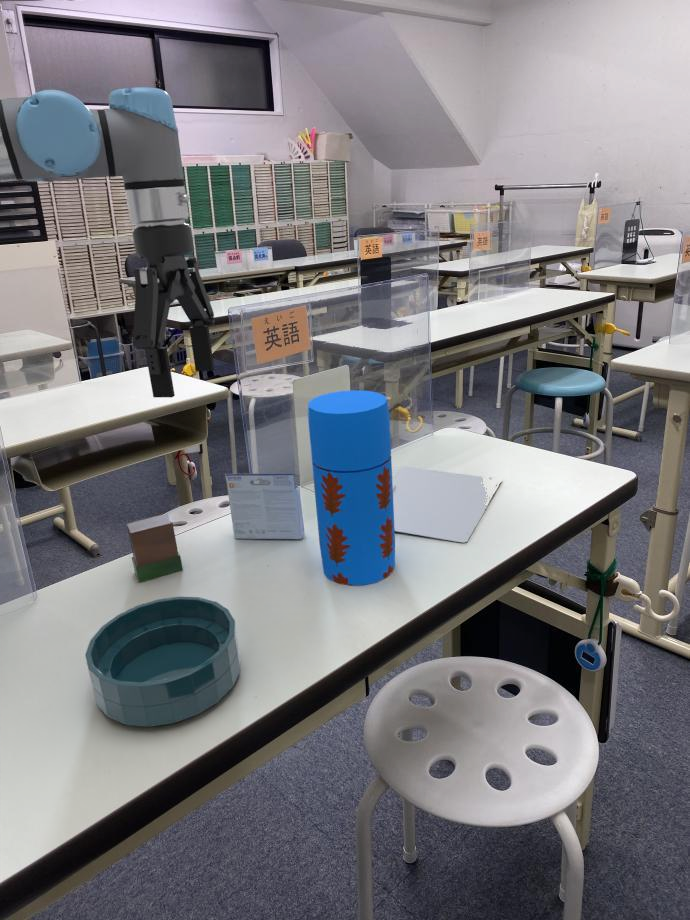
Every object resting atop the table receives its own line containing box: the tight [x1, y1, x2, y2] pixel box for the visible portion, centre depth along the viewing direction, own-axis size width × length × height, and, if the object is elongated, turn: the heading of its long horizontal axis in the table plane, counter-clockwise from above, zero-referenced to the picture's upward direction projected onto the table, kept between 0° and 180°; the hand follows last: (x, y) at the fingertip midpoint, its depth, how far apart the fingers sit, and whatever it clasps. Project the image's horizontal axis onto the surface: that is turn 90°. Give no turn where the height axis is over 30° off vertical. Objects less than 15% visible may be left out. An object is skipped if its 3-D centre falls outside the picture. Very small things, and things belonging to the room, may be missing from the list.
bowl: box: [85, 596, 241, 728], centre depth 78 cm, size 16×16×6 cm
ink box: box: [224, 472, 306, 540], centre depth 108 cm, size 12×2×12 cm, turn 80°
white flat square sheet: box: [392, 466, 490, 544], centre depth 119 cm, size 25×24×1 cm
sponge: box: [126, 513, 184, 583], centre depth 101 cm, size 4×6×8 cm, turn 116°
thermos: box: [307, 389, 396, 586], centre depth 95 cm, size 11×11×25 cm
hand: (185, 383), depth 96 cm, fingers open, 13 cm apart
